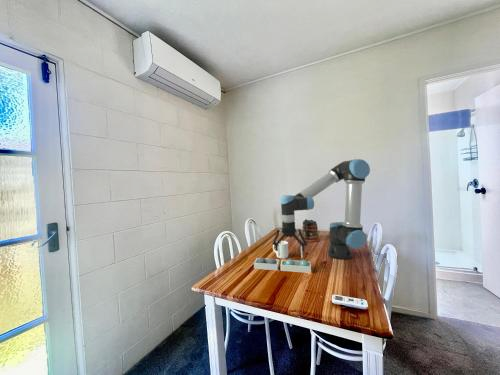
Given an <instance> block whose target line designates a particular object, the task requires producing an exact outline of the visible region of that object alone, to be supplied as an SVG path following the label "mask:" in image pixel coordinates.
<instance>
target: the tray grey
mask: <svg viewBox="0 0 500 375" xmlns="http://www.w3.org/2000/svg"><path fill="white" fill-rule="evenodd" d="M259 258H260V257H257V258H256V259H255V261H254V262H253V269H254V270H266V271H267V270H268V271H279V267H280V258H279V259H278V258H276V259H275V258H274V259H275V260H276V264H267V261H268V259H269V258H265V260H266V263H257V260H258V259H259Z"/></svg>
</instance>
